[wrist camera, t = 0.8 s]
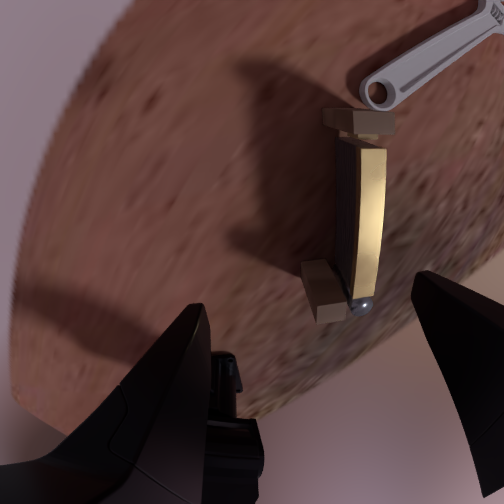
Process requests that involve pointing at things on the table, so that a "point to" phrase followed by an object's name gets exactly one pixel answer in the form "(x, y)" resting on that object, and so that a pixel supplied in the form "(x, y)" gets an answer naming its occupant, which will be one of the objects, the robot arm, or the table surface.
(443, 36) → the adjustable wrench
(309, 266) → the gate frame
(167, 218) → the table surface
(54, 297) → the table surface
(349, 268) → the gate panel
